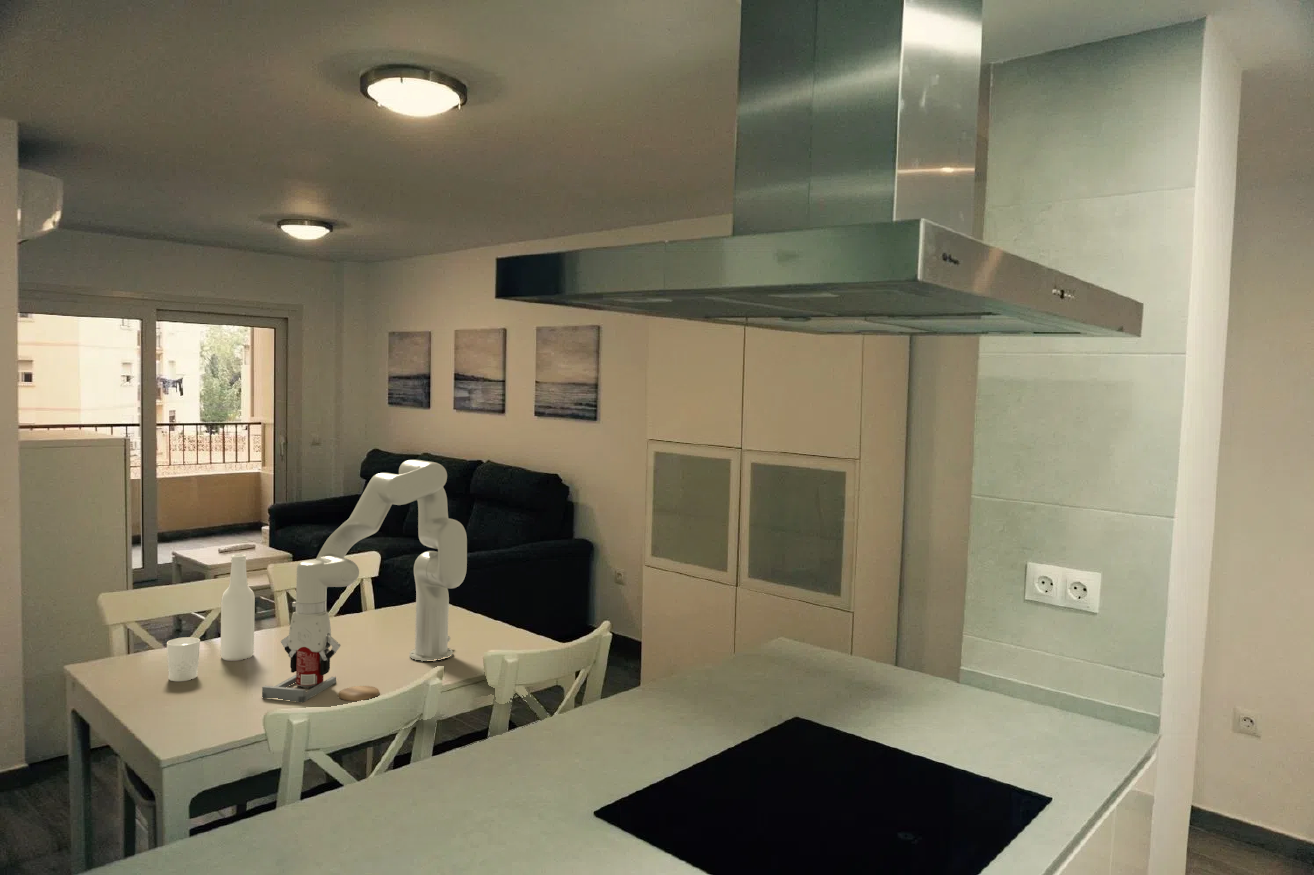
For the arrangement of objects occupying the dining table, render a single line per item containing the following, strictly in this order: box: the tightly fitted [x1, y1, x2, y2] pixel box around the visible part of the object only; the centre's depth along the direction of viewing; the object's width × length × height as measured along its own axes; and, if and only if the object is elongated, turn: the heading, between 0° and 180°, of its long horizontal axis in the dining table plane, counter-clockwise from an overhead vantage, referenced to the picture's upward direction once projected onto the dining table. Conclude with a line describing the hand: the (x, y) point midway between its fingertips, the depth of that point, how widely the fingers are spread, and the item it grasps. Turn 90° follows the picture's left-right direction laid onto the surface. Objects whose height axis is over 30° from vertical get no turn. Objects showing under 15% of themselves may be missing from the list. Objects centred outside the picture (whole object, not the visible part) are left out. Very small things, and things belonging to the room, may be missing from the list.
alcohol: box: [220, 553, 256, 662], centre depth 251 cm, size 9×9×30 cm
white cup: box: [166, 636, 201, 682], centre depth 232 cm, size 8×8×10 cm
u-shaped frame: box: [261, 674, 337, 703], centre depth 226 cm, size 16×11×3 cm
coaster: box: [337, 685, 380, 702], centre depth 224 cm, size 10×10×1 cm
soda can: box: [295, 647, 324, 689], centre depth 230 cm, size 7×7×12 cm
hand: (310, 672), depth 230 cm, fingers open, 7 cm apart
